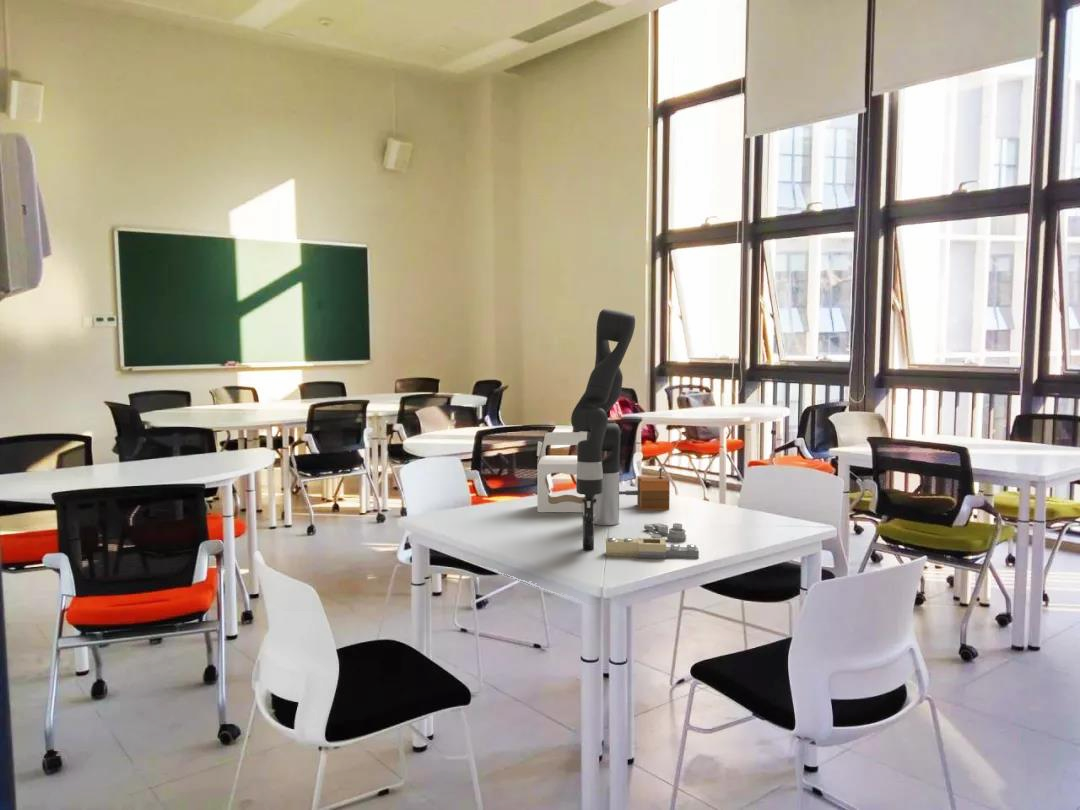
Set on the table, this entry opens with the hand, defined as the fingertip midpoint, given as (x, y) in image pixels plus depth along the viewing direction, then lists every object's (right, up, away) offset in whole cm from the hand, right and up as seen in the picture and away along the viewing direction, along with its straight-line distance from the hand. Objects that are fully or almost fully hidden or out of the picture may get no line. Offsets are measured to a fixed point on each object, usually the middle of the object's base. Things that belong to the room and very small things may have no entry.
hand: (589, 532), depth 233 cm
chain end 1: (+13, -5, -6) cm, 15 cm away
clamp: (+22, -1, +62) cm, 66 cm away
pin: (0, -5, +1) cm, 5 cm away
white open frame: (-4, -1, +59) cm, 59 cm away
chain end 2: (+22, -5, -7) cm, 23 cm away
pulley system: (+23, -5, +14) cm, 27 cm away
